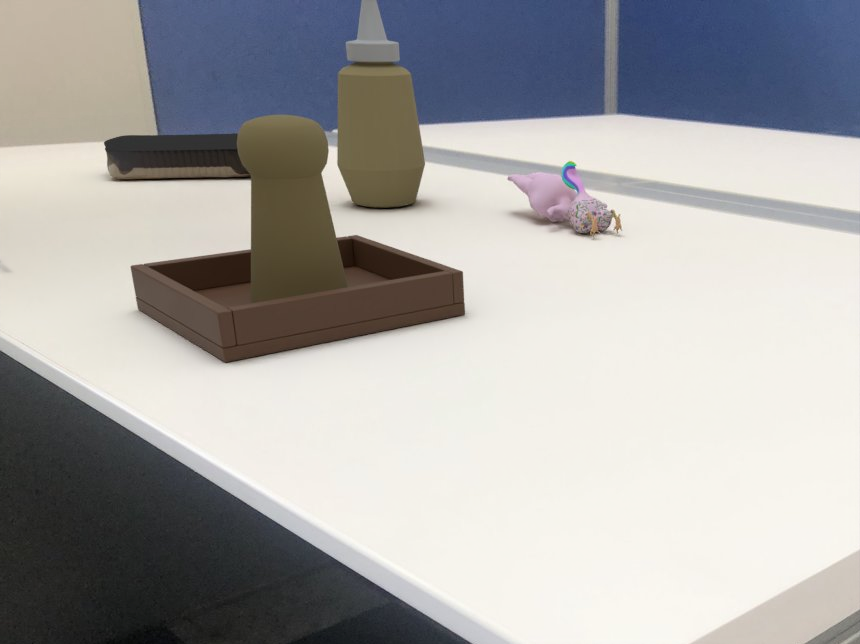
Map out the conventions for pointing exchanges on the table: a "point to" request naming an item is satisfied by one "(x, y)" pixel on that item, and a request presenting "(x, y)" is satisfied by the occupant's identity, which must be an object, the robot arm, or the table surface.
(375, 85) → the squeeze bottle
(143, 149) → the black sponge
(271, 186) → the cork
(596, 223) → the pink figurine
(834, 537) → the table surface
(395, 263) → the tray
